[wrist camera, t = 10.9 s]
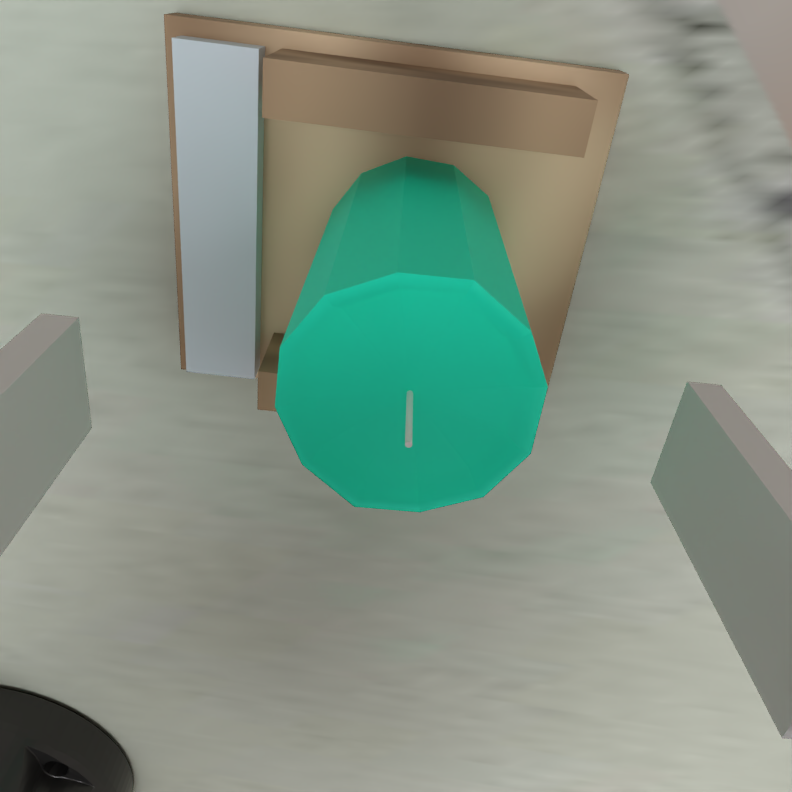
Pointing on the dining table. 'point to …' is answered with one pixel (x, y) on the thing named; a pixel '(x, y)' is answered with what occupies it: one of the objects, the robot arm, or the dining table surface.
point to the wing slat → (220, 201)
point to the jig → (416, 154)
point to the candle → (410, 346)
